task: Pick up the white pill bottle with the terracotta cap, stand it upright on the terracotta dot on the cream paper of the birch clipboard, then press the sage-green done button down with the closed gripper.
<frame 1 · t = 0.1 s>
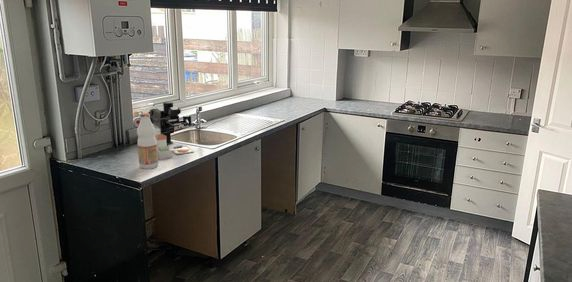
hand: (181, 125, 244), 17 cm above the worktop, tool horizontal, fingers open, 9 cm apart
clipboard: (181, 151, 252), on the worktop
done button: (163, 149, 240), point 4 cm above the worktop, slide at 0.0 cm
mug: (156, 146, 260), on the worktop
button base: (164, 156, 241), on the worktop
white pill bottle: (161, 152, 249), on the worktop
fruit juice: (148, 166, 225), on the worktop
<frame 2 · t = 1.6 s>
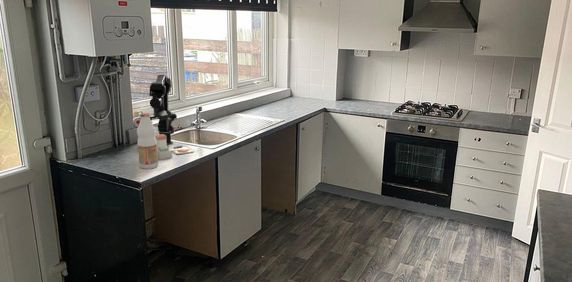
hand: (160, 132, 246), 12 cm above the worktop, tool pointing down, fingers open, 9 cm apart
mug: (156, 145, 260), point 1 cm above the worktop, touching arm
everything else where it was.
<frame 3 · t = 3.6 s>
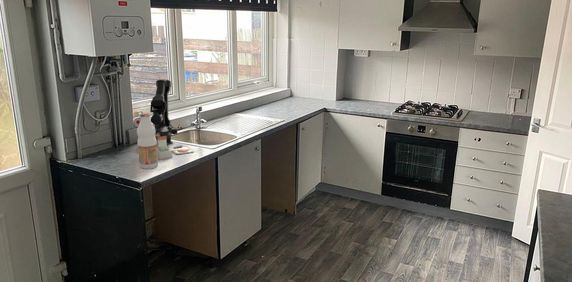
hand: (161, 147, 248), 3 cm above the worktop, tool pointing down, fingers closed on white pill bottle, 5 cm apart
white pill bottle: (161, 152, 249), on the worktop, touching gripper
everything else where it was.
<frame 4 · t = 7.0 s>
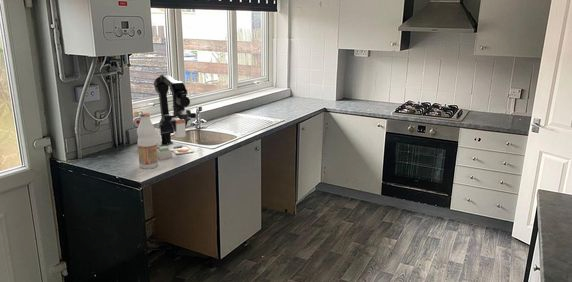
hand: (179, 131, 247), 13 cm above the worktop, tool pointing down, fingers closed on white pill bottle, 5 cm apart
mug: (156, 146, 260), on the worktop
white pill bottle: (180, 136, 247), point 10 cm above the worktop, touching gripper
everything else where it was.
when the fingers open (5 cm above the worktop, at t = 9.8 s): white pill bottle stays where it is, resting on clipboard.
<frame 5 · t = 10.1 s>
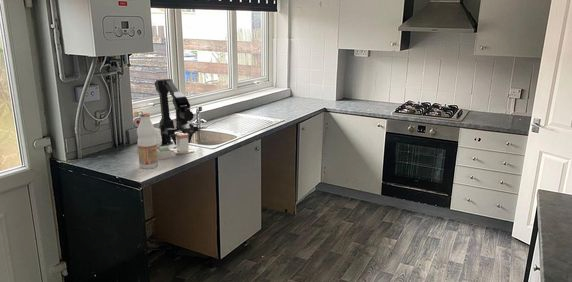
hand: (182, 144, 249), 5 cm above the worktop, tool pointing down, fingers open, 8 cm apart
white pill bottle: (182, 150, 250), point 1 cm above the worktop, touching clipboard
everything else where it was.
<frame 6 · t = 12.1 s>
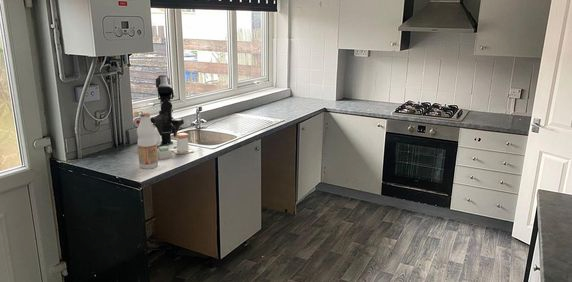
hand: (167, 136, 240), 12 cm above the worktop, tool pointing down, fingers open, 9 cm apart
mug: (156, 146, 260), on the worktop, touching arm
everything else where it was.
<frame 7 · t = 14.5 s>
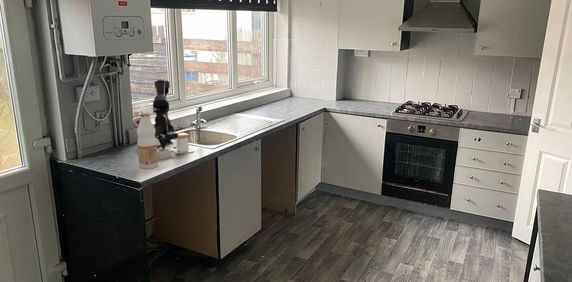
hand: (163, 148, 240), 5 cm above the worktop, tool pointing down, fingers closed, pressing on done button
done button: (163, 150, 240), point 3 cm above the worktop, slide at 0.8 cm, touching gripper
everything else where it was.
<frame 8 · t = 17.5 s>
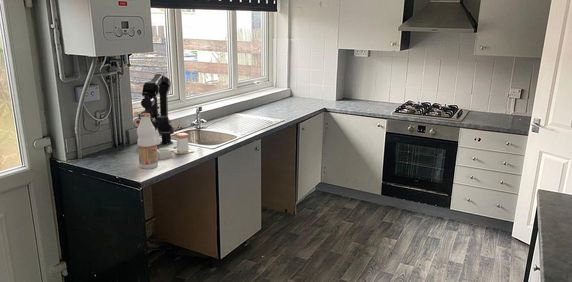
hand: (154, 132, 241), 13 cm above the worktop, tool pointing down, fingers closed
done button: (163, 151, 240), point 3 cm above the worktop, slide at 1.1 cm
at the end: white pill bottle 0.0 cm from the target spot on the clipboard, point 0.8 cm above the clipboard's base; white pill bottle tilted 0°; done button slide at 1.1 cm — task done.
